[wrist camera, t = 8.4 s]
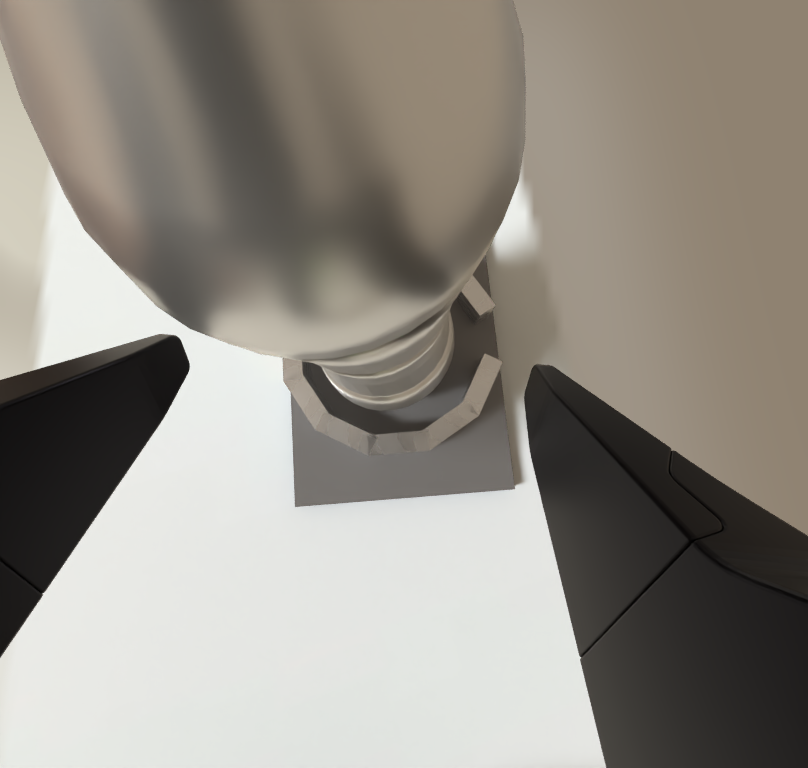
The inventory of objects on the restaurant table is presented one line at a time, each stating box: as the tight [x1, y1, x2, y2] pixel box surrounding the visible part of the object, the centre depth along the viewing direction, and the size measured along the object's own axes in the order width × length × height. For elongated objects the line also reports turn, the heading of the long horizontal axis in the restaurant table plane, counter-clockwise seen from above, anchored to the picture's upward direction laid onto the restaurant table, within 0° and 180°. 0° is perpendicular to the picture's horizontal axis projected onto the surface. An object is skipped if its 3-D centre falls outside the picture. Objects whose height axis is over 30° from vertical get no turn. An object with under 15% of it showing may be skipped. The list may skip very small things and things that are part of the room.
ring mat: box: [291, 255, 515, 507], centre depth 20 cm, size 16×12×1 cm
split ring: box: [283, 275, 503, 456], centre depth 19 cm, size 11×11×2 cm
